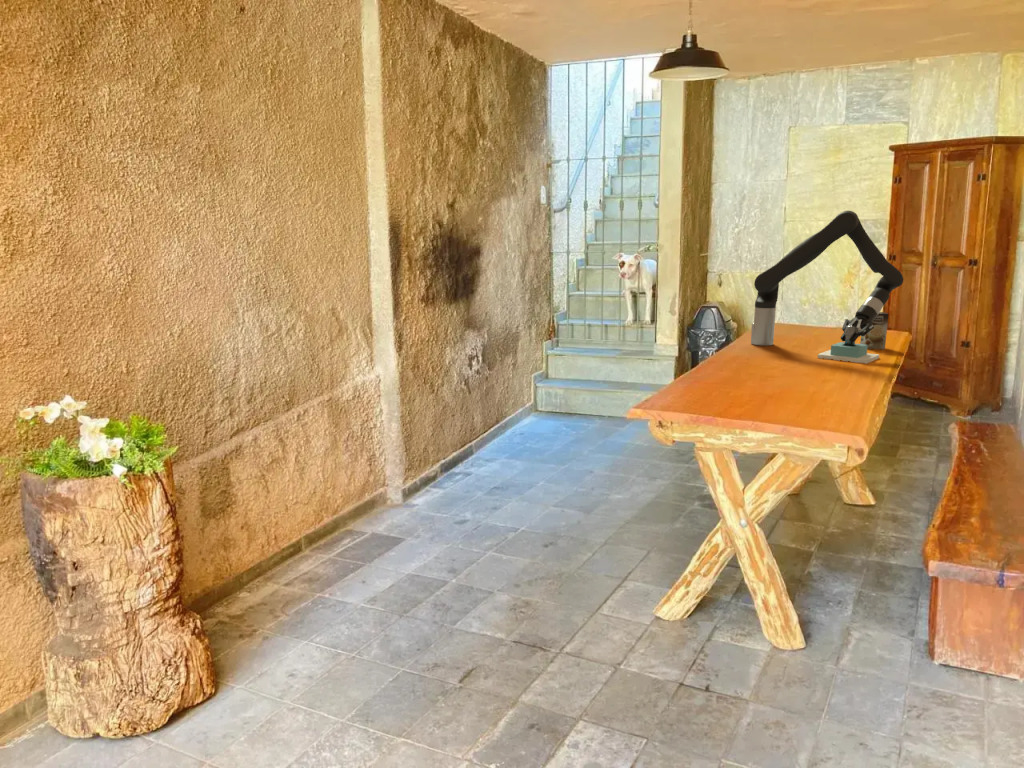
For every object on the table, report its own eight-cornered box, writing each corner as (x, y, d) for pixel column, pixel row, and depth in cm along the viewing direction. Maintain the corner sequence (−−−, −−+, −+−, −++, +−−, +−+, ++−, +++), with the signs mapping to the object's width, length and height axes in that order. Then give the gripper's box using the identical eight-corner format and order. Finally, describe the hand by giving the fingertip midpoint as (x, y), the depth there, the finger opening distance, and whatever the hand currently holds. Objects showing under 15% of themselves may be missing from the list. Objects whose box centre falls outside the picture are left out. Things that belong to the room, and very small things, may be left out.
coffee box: (864, 349, 359) (867, 313, 355) (859, 346, 365) (862, 311, 362) (885, 349, 358) (889, 313, 354) (880, 346, 364) (883, 311, 361)
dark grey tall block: (842, 349, 337) (844, 326, 335) (845, 348, 340) (847, 325, 338) (852, 350, 334) (854, 327, 332) (855, 349, 337) (857, 326, 335)
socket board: (817, 357, 338) (818, 345, 337) (831, 352, 350) (832, 340, 349) (866, 363, 326) (868, 350, 324) (879, 358, 337) (880, 345, 336)
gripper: (851, 302, 342) (828, 332, 340) (879, 306, 330) (856, 337, 327) (859, 314, 346) (836, 344, 343) (887, 317, 333) (864, 349, 331)
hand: (846, 340), depth 335 cm, fingers closed on dark grey tall block, 4 cm apart
